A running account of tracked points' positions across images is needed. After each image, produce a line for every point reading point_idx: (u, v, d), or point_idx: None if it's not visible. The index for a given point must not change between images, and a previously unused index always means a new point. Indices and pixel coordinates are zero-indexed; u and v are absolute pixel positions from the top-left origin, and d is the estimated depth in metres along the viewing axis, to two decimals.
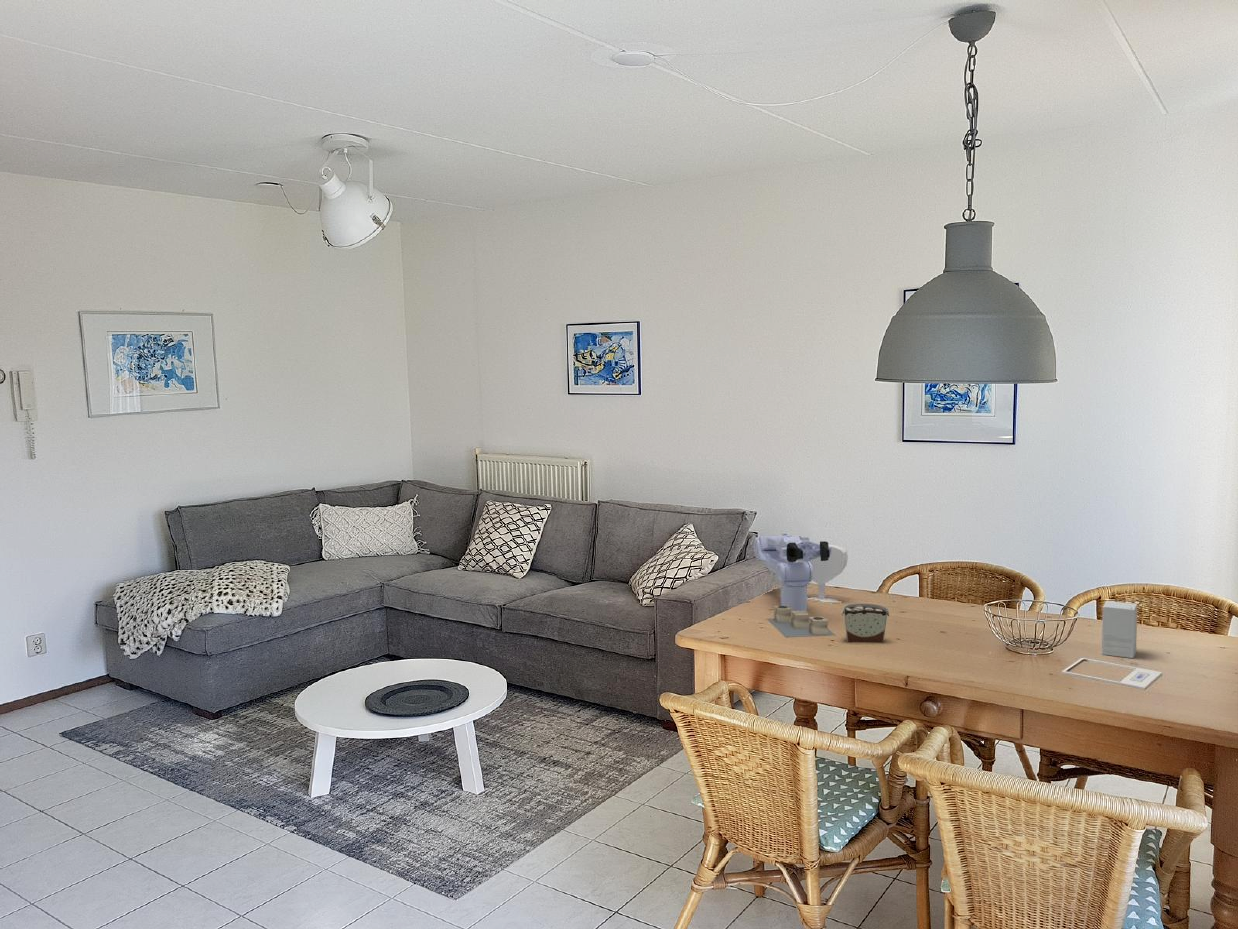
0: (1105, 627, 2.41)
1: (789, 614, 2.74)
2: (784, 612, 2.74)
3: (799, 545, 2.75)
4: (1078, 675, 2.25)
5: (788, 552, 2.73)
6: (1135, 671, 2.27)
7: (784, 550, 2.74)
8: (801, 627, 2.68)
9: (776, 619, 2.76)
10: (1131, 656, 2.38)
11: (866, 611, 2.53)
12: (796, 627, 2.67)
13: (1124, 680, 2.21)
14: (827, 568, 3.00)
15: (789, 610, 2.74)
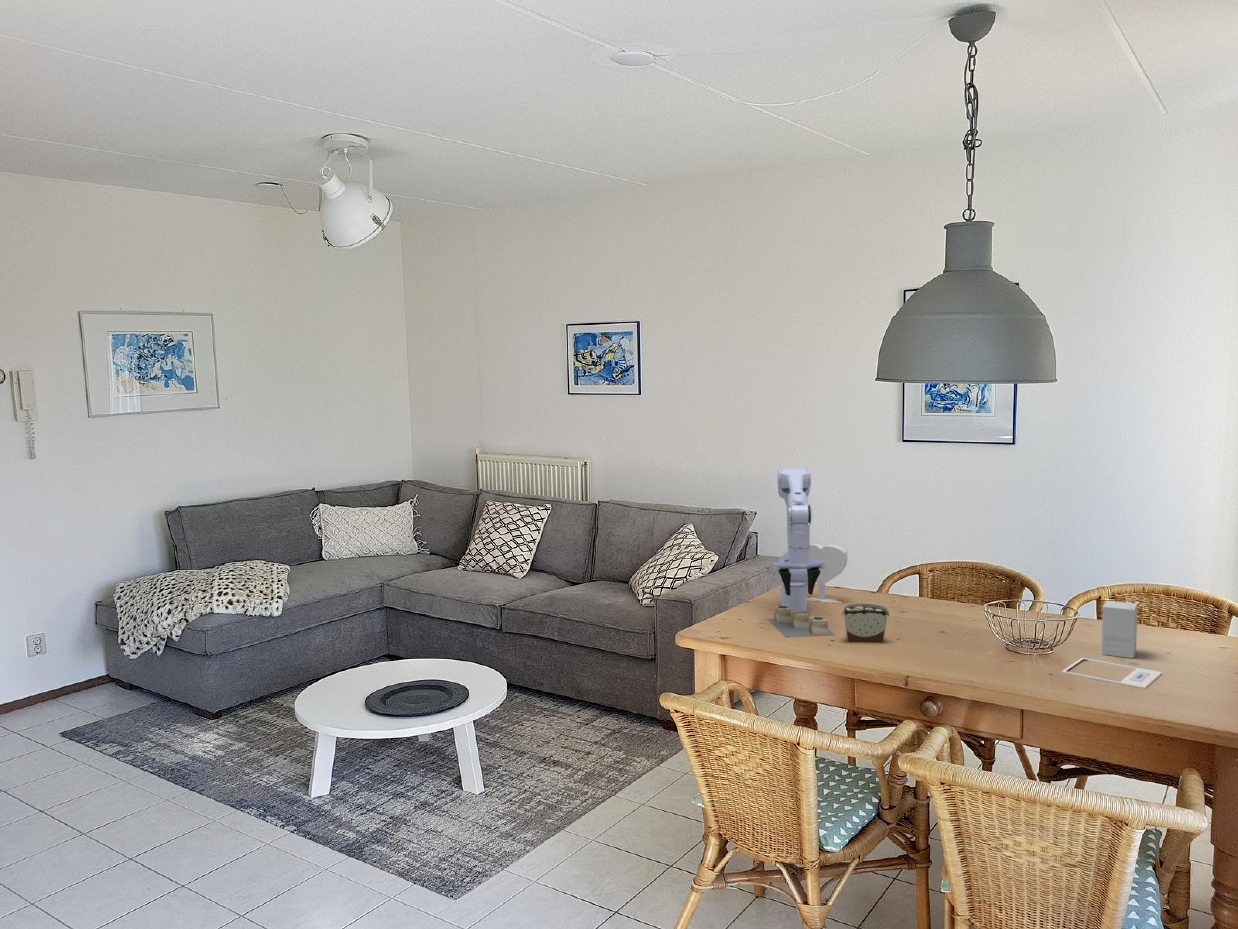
0: (1105, 627, 2.41)
1: (789, 614, 2.74)
2: (784, 612, 2.74)
3: None
4: (1078, 675, 2.25)
5: (781, 572, 2.69)
6: (1135, 671, 2.27)
7: None
8: (801, 627, 2.68)
9: (776, 619, 2.76)
10: (1131, 656, 2.38)
11: (866, 611, 2.53)
12: (796, 627, 2.67)
13: (1124, 680, 2.21)
14: (827, 568, 3.00)
15: (789, 610, 2.74)
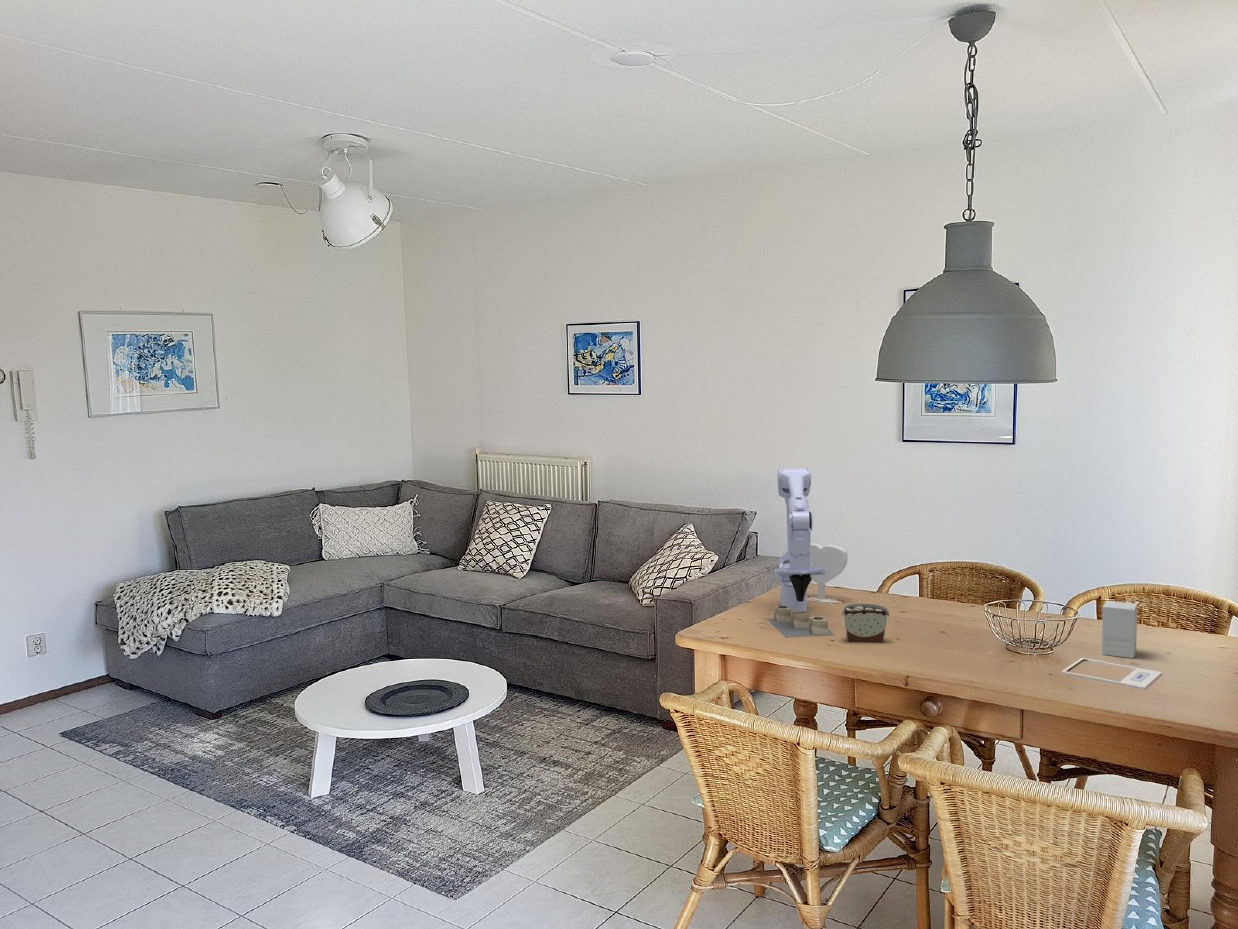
0: (1105, 627, 2.41)
1: (789, 614, 2.74)
2: (784, 612, 2.74)
3: None
4: (1078, 675, 2.25)
5: (792, 578, 2.68)
6: (1135, 671, 2.27)
7: None
8: (801, 627, 2.68)
9: (776, 619, 2.76)
10: (1131, 656, 2.38)
11: (866, 611, 2.53)
12: (796, 627, 2.67)
13: (1124, 680, 2.21)
14: (827, 568, 3.00)
15: (789, 610, 2.74)
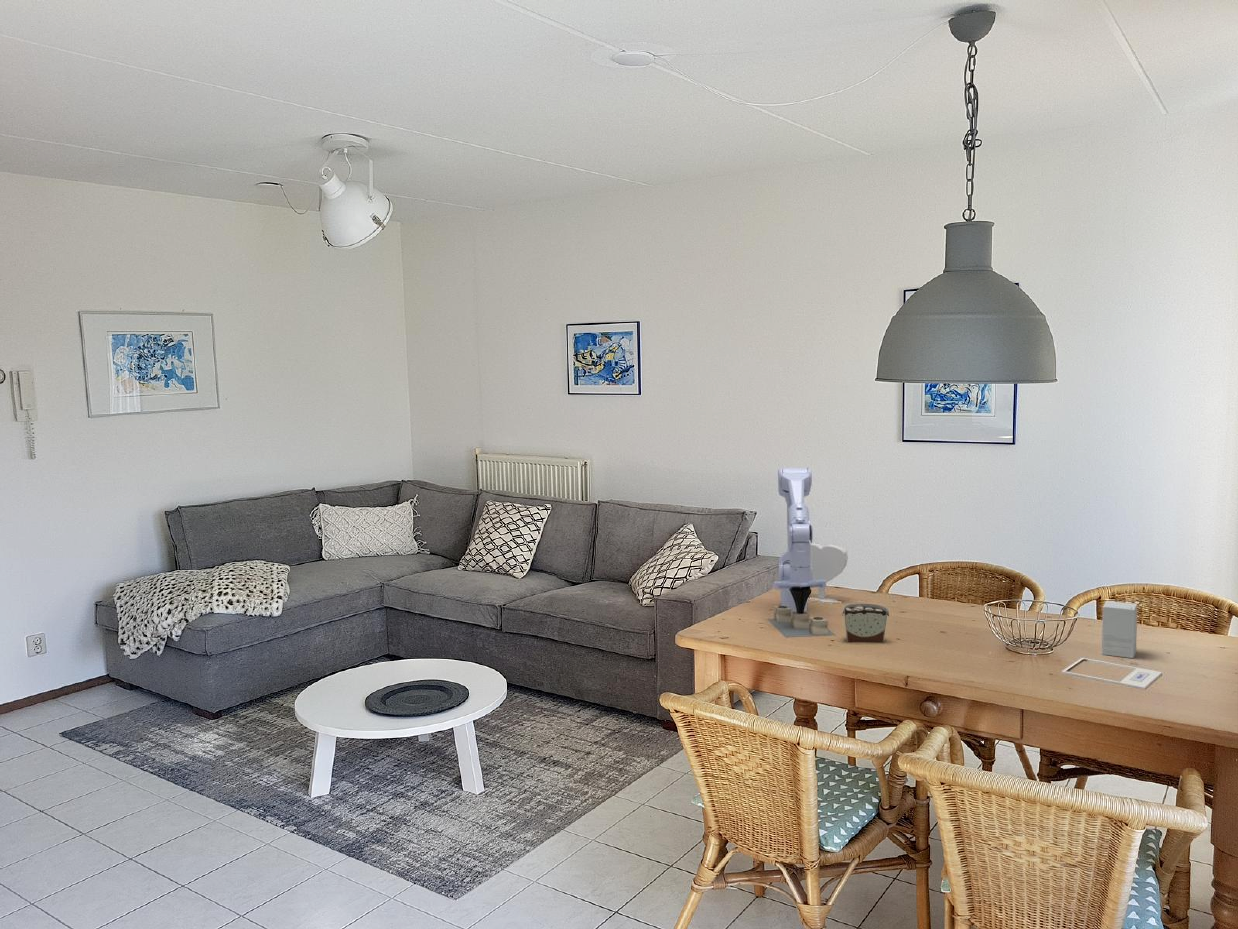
0: (1105, 627, 2.41)
1: (789, 614, 2.74)
2: (784, 612, 2.74)
3: None
4: (1078, 675, 2.25)
5: (792, 591, 2.68)
6: (1135, 671, 2.27)
7: None
8: (801, 627, 2.68)
9: (776, 619, 2.76)
10: (1131, 656, 2.38)
11: (866, 611, 2.53)
12: (796, 627, 2.67)
13: (1124, 680, 2.21)
14: (827, 568, 3.00)
15: (789, 610, 2.74)
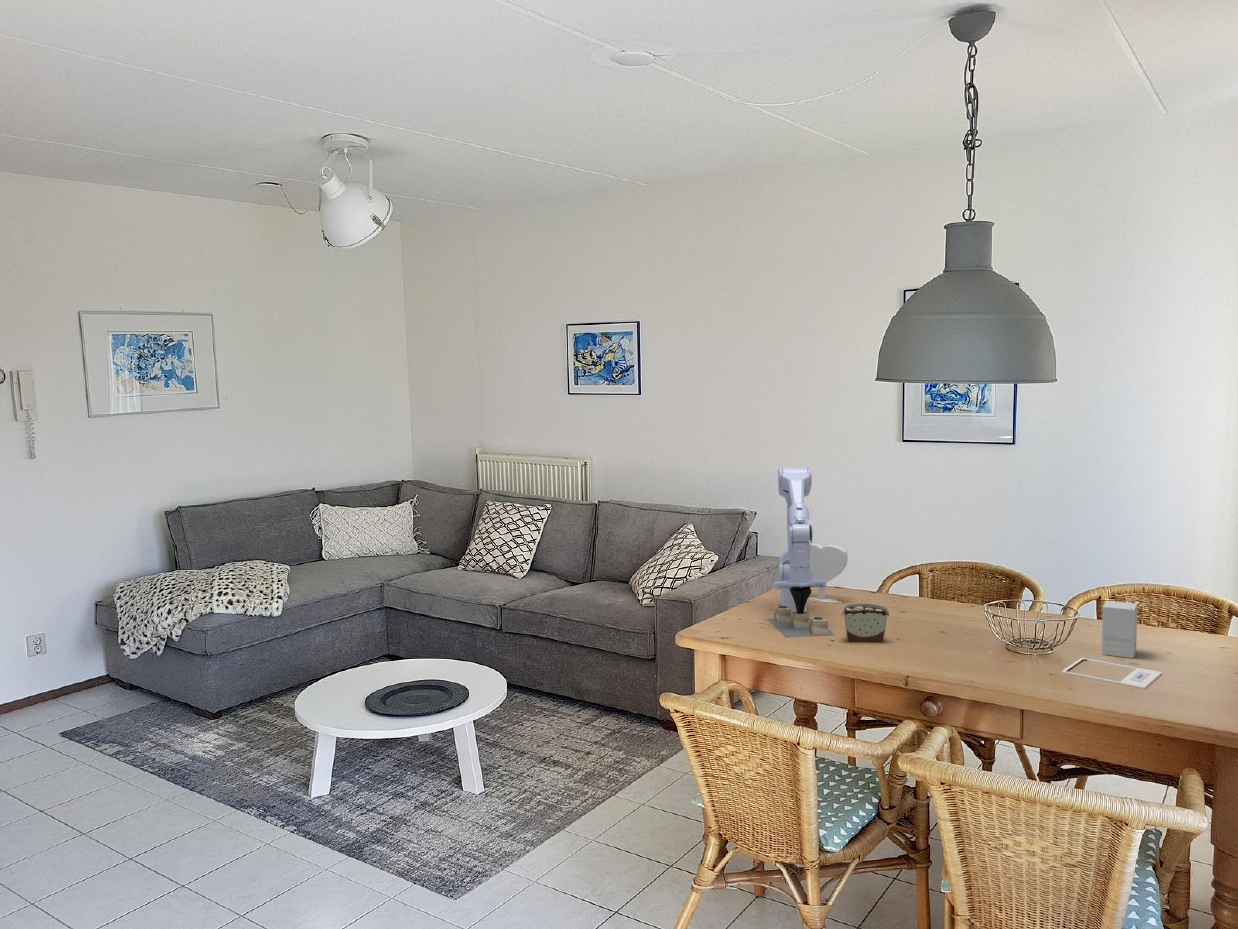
0: (1105, 627, 2.41)
1: (789, 614, 2.74)
2: (784, 612, 2.74)
3: None
4: (1078, 675, 2.25)
5: (792, 591, 2.68)
6: (1135, 671, 2.27)
7: None
8: (801, 627, 2.68)
9: (776, 619, 2.76)
10: (1131, 656, 2.38)
11: (866, 611, 2.53)
12: (796, 627, 2.67)
13: (1124, 680, 2.21)
14: (827, 568, 3.00)
15: (789, 610, 2.74)
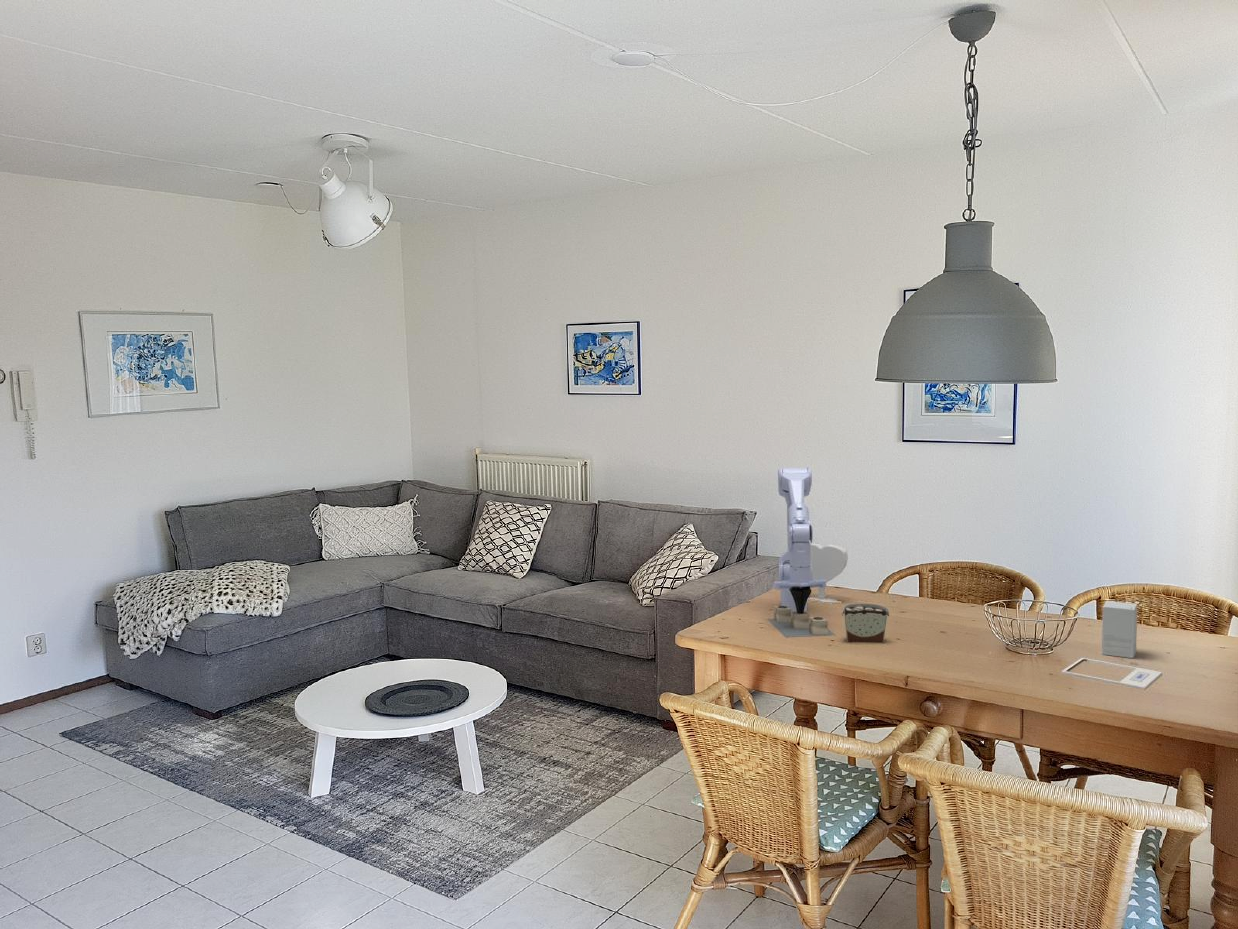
0: (1105, 627, 2.41)
1: (789, 614, 2.74)
2: (784, 612, 2.74)
3: None
4: (1078, 675, 2.25)
5: (792, 591, 2.68)
6: (1135, 671, 2.27)
7: None
8: (801, 627, 2.68)
9: (776, 619, 2.76)
10: (1131, 656, 2.38)
11: (866, 611, 2.53)
12: (796, 627, 2.67)
13: (1124, 680, 2.21)
14: (827, 568, 3.00)
15: (789, 610, 2.74)
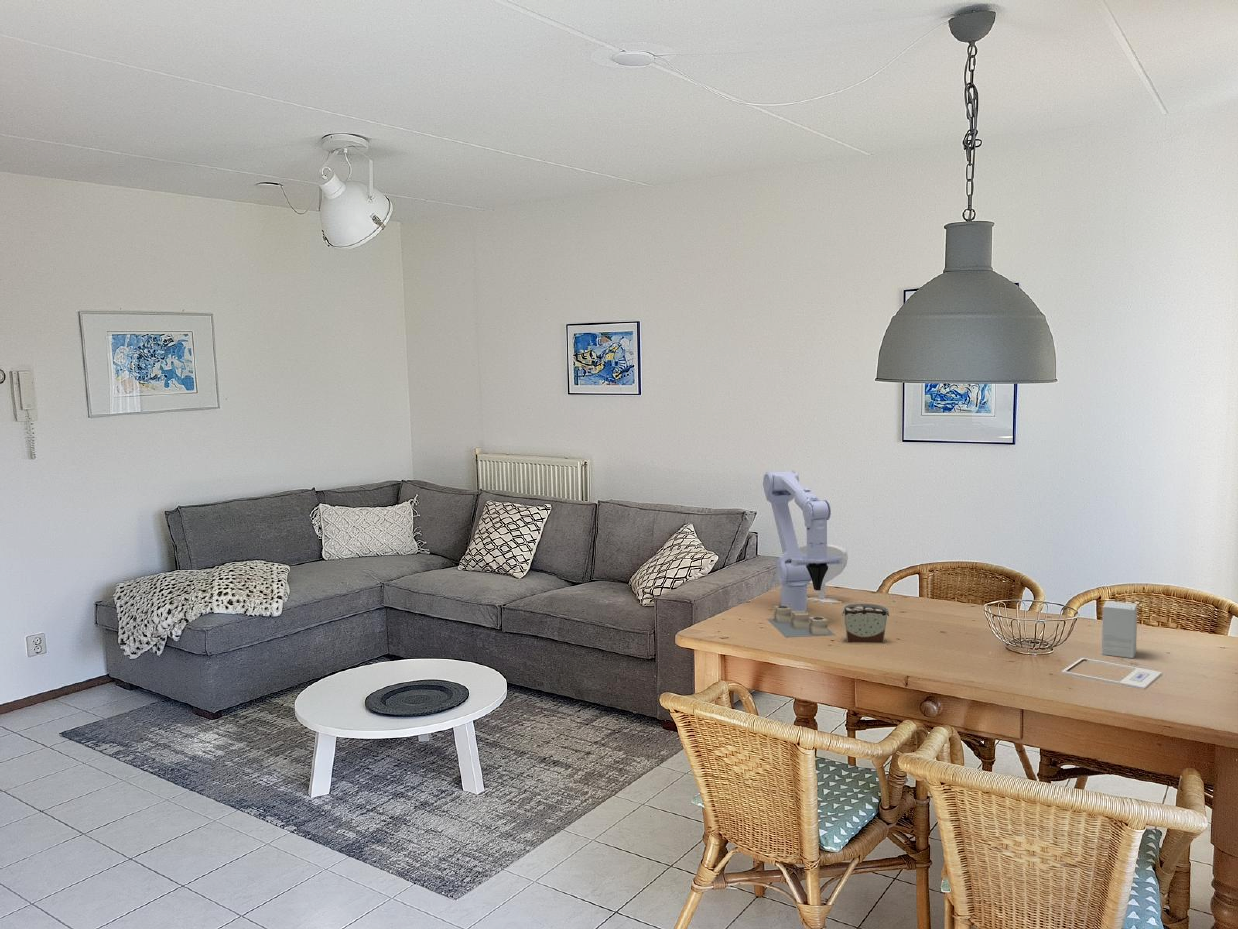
0: (1105, 627, 2.41)
1: (789, 614, 2.74)
2: (784, 612, 2.74)
3: None
4: (1078, 675, 2.25)
5: (809, 567, 2.72)
6: (1135, 671, 2.27)
7: None
8: (801, 627, 2.68)
9: (776, 619, 2.76)
10: (1131, 656, 2.38)
11: (866, 611, 2.53)
12: (796, 627, 2.67)
13: (1124, 680, 2.21)
14: None
15: (789, 610, 2.74)
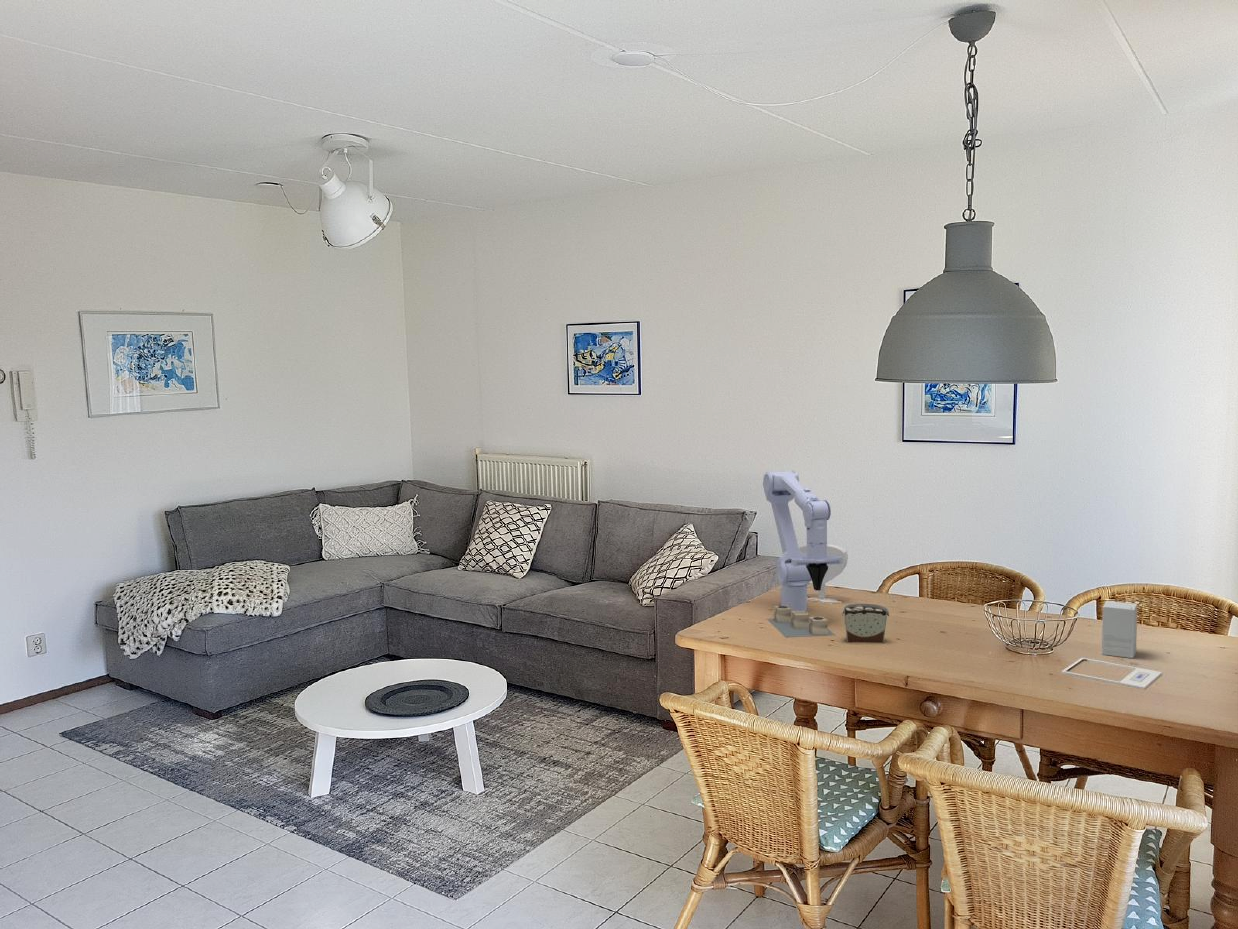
0: (1105, 627, 2.41)
1: (789, 614, 2.74)
2: (784, 612, 2.74)
3: None
4: (1078, 675, 2.25)
5: (809, 567, 2.72)
6: (1135, 671, 2.27)
7: None
8: (801, 627, 2.68)
9: (776, 619, 2.76)
10: (1131, 656, 2.38)
11: (866, 611, 2.53)
12: (796, 627, 2.67)
13: (1124, 680, 2.21)
14: None
15: (789, 610, 2.74)
